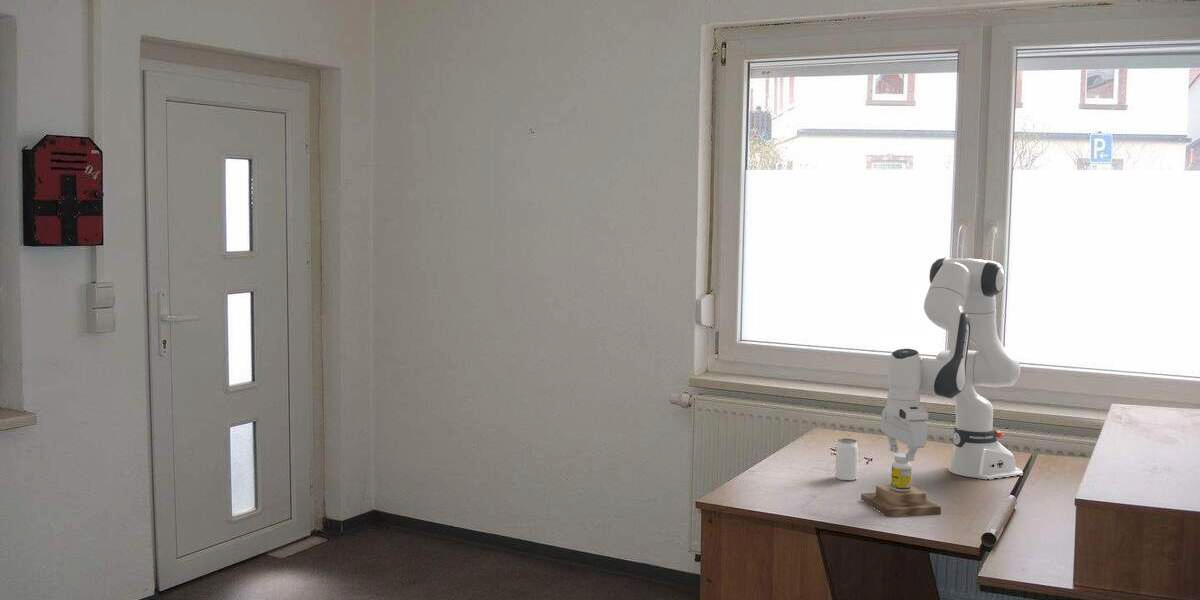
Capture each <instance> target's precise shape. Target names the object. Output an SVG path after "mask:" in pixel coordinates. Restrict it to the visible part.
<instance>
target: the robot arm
mask: <svg viewBox="0 0 1200 600" xmlns="http://www.w3.org/2000/svg"><path fill="white" fill-rule="evenodd" d="M1005 282H1006V271H1005V269H1004V267H1003V266H1002V265H1001V263H999V262H997V261H993V260H984V259H978V258H972V257H971V258H970V257H968V258H960V257H958V258H949V257H942V258H938V259H936V261H934V262H933V263H932V265H931V267H930V270H929V283H930V286H929V288H928V290H927V294H926V297H925V299H924V302H923V309H924V313H925V315H926V317H927V318H928V319H929V321H931V323H933V324H934V325H936V326H937V327H939V328H940V329H943V330H945V331H947V332H949V333H950V334H951V340H950V346H949V349H947V350H940V352H939V353H937V355H936V357H935V359H929V358H923V357H921V356H920V353H919V351H918V350H916V349H913V348H900V349H897V350H894V351H893V352H892V353H891V354H890V358H889V363H888V368H887V369H888V370H887V385H888V392H887V397H886V403H885V405H884V407H883V409H882V412H881V421H880V430H881V432H882V433H883V434H885V435H887V440H888V444H889V451H890V452H892V453H898V452H899V446H898V444H897V443H898V442H900V443H902V444H904V445H907V449H908V452H907V453H905V454H906V459H907V460H908V462H913V461H915V456H916V453H917V451H918V449H924V448H925V447H926V444H927V439H928V423H927V421H928V420H929V417H930V416H929V412H928V411H927V409H926V408H925V407H924V406H923V404H922V403H921V394H920V393H922V394H928V395H929V394H930V395H935V396H936V395H937V396H940V397H944V398H948V399H953V400H954V404H955V426H953V427H954V428H953V450H952V456H951V461H950V464H949V467H948V471H949V473H952V474H954V475H958V476H963V477H969V478H977V479H981V480H982V479H983V480H987V479H989V480H995V479H994V478H998V479H1003V478H1002V477H1006V478H1009V477H1008V476H1014V475H1020V476H1019V477H1021V476H1024V472H1023V470H1022V469H1021V468H1018V467H1017V466H1016V459H1015V456H1014V454H1013V453H1012V452H1011V451H1010V450H1009V449H1007V448H1006V447H1005V446H1004V445H1003V444H1001V443H1000V442H999V440H998V439H997V438H999V439H1004V437H1005V433H1004V432H1003V431H1000V430H997V431H996V430H995V429H993V427H994V426H993V423H994V407H993V405H992V403H991V402H990V401H989V400H988V399H987V398H986V397H983V396H982V395H980V394H979V393H977V392H976V389H975V387H974V386H978V387H990V388H1004V387H1012V386H1013V385H1015V384H1016V383H1017V382H1018V381H1019V378H1020V376H1021V365H1020V363H1019V362H1020V361H1018V359H1017V357H1015V356H1014V355H1013V354H1012V353H1010V352H1009V351H1008V350H1007V349H1006V348H1005V347H1004V345H1003V344H1002V342H1001V340H1000V338H999V334H998V330H997V302H996V301H997V299H996V297H997V295H998V294H999V293H1001V292H1002V290H1003V289H1004V286H1005ZM970 343H971V344H973V345H974V346H975V347H976V349H977V350H969V346H970ZM926 420H927V421H926ZM897 441H898V442H897ZM1014 477H1015V476H1014Z"/></svg>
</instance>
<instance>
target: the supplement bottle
mask: <svg viewBox="0 0 1200 600" xmlns="http://www.w3.org/2000/svg"><path fill="white" fill-rule="evenodd" d="M906 454H907V453H895V454H894V458H893V460H894V461H893V462H892V463H891V476H890V477H891V479H890V485H891V488H892V489H893V490H895V491H901V492H906V491H910V490H911V486H912V467H913V466H912V464H911V463H910V461H908V460H907V459H906Z"/></svg>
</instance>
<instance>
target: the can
mask: <svg viewBox="0 0 1200 600" xmlns="http://www.w3.org/2000/svg"><path fill="white" fill-rule="evenodd" d="M858 449H859V447H858V444H857V440H856V439H852V438H839V439H837V443H836V447H835V450H836V451H835V478H836V479H837V480H838V481H839V480H840V481H843V480H854V481H856V480H857V479H858V459H859V458H858V457H859V456H858V455H859V453H858ZM855 479H856V480H855Z"/></svg>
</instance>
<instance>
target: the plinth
mask: <svg viewBox="0 0 1200 600" xmlns="http://www.w3.org/2000/svg"><path fill="white" fill-rule="evenodd" d="M926 496H927V493H926V492H924V491H922V490H921V489H918V488H917V487H915V486H913V485H911V490H910V491H906V492H901V491H895V490H893V489H892V488H891V484H883V485H881V484H879V485H875V492H864V493H860V501H861V500H863V501H864V502H863V501H862V502H863V503H865V502H866V503H867V504H866V503H865V504H866V505H868V504H869V505H870V506H869V505H868V506H869V507H871V506H872V507H873V509H874V508H875V509H874V510H876V511H877V510H878V511H877V512H879V511H880V512H881V513H880V512H879V513H880V514H882V513H883V514H884V515H883V514H882V515H883V516H885V515H886V516H885V517H887V516H891V517H903V516H902V515H909V516H923V515H925V516H926V515H941V513H942V512H941V511H942V506H940V505H939V504H937V503H935V502H933V501H932V500H930V499H928V498H927V497H926ZM872 507H871V508H872Z"/></svg>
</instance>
